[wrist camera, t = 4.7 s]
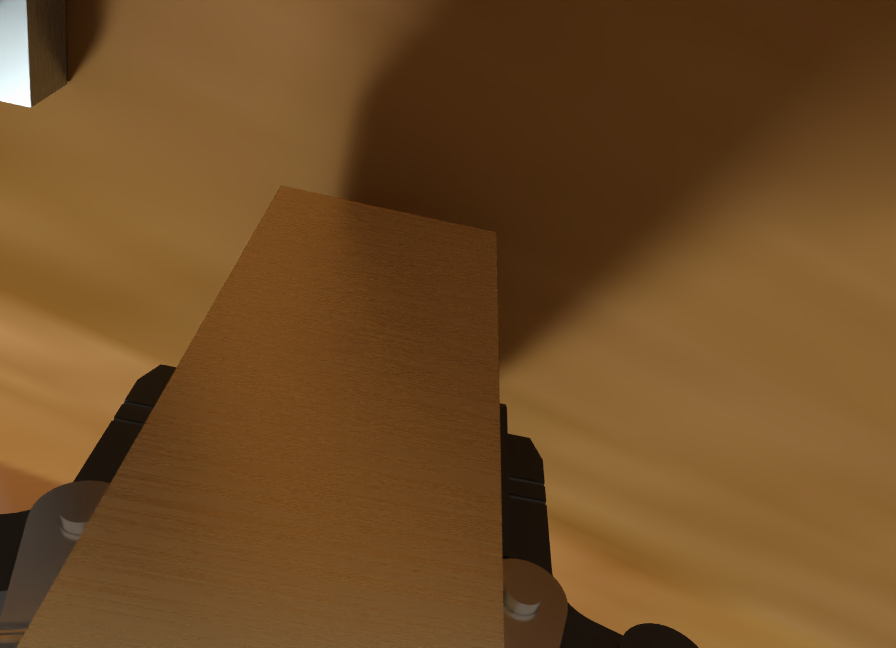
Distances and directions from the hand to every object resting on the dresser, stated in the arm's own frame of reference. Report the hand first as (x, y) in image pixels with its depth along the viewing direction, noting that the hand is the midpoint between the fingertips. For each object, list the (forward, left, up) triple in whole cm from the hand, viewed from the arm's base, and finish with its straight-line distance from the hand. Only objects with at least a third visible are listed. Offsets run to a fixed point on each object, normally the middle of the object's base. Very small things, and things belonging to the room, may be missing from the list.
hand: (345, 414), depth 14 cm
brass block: (0, 0, -2) cm, 2 cm away
